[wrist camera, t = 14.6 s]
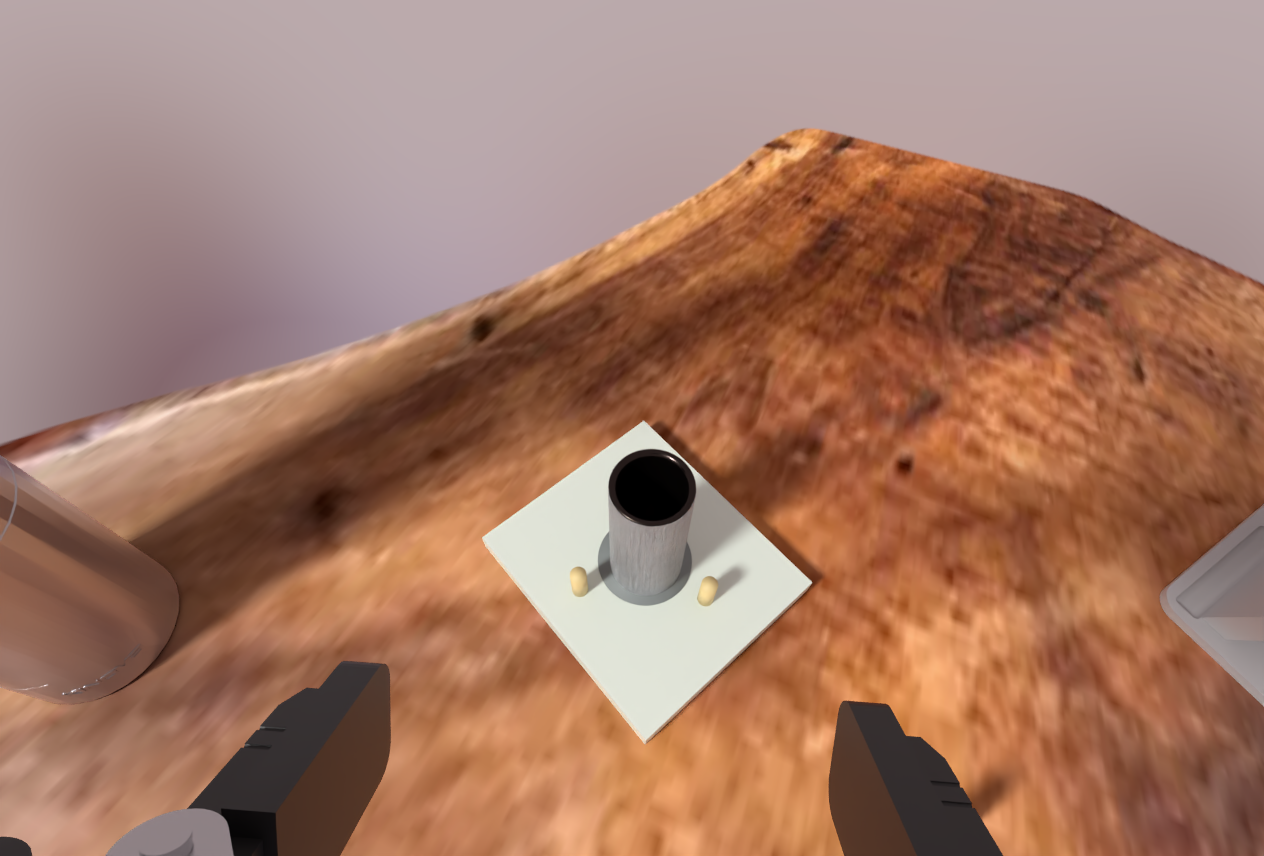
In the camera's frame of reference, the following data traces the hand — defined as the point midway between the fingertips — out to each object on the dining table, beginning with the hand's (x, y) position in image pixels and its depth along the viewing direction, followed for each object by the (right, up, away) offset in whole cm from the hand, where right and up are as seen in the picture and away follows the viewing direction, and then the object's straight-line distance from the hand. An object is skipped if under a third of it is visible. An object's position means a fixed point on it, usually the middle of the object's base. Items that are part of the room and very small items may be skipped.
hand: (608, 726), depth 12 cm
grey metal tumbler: (+1, -3, +32) cm, 32 cm away
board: (+1, -4, +33) cm, 34 cm away
